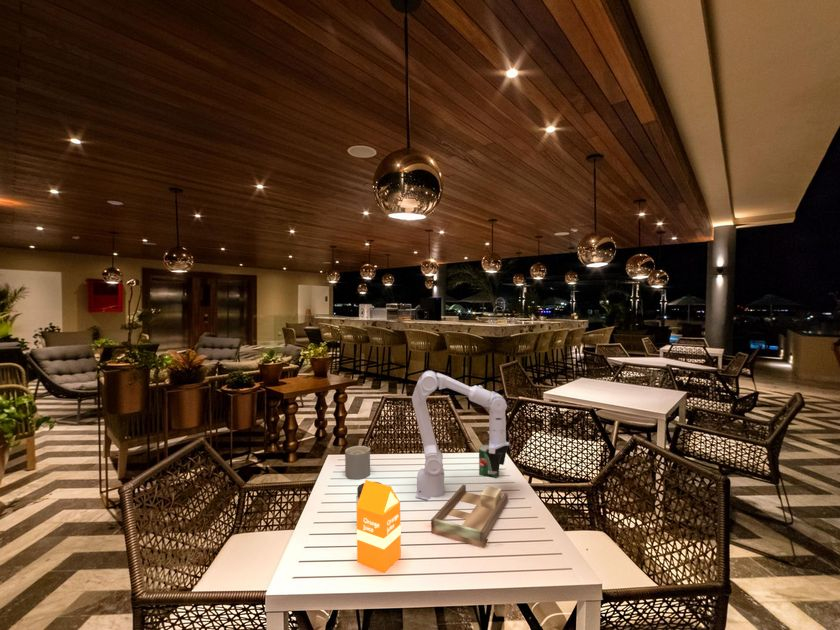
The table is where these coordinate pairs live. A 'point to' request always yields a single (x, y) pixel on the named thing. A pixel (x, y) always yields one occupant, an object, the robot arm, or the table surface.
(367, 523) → the orange juice
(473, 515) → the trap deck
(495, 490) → the maple block
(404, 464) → the table surface
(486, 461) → the canned tomato
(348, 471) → the coffee mug
